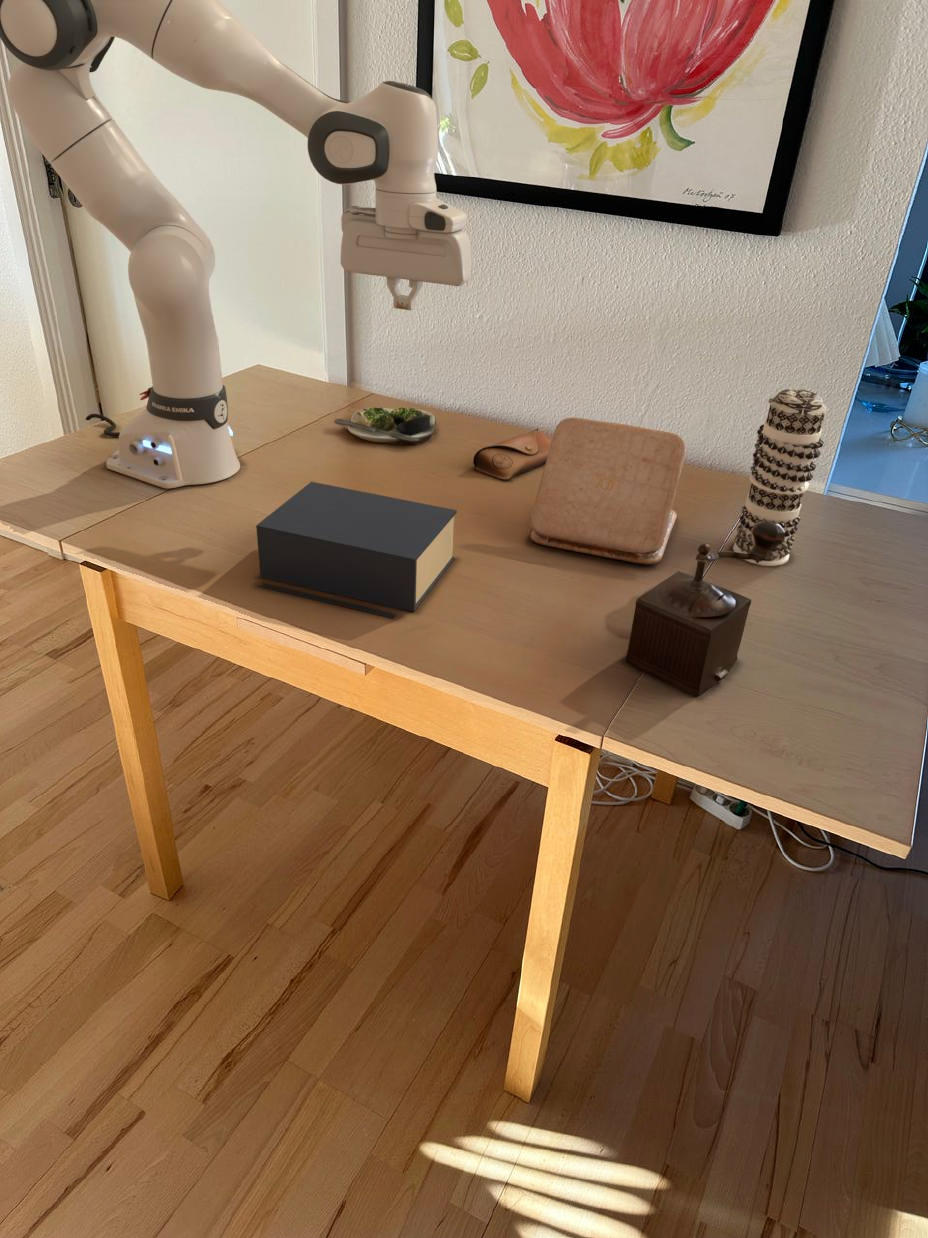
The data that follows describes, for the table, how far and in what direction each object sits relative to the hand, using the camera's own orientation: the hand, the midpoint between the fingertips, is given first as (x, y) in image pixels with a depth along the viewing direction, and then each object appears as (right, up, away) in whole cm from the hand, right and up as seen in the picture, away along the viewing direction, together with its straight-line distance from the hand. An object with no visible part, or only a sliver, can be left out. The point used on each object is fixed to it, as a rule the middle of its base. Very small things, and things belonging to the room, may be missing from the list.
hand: (404, 308), depth 139 cm
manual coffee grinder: (+38, -53, -25) cm, 70 cm away
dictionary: (-6, -41, -10) cm, 42 cm away
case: (+31, -34, +4) cm, 47 cm away
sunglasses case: (+20, -19, +26) cm, 38 cm away
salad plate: (-4, -12, +36) cm, 38 cm away
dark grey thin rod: (-9, -45, -18) cm, 50 cm away
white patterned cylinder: (+55, -38, 0) cm, 67 cm away
